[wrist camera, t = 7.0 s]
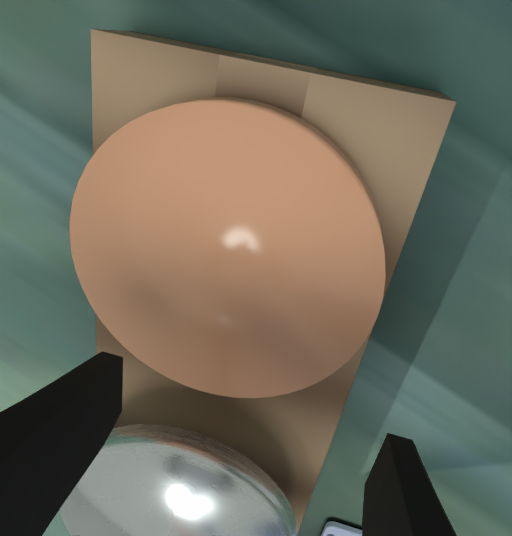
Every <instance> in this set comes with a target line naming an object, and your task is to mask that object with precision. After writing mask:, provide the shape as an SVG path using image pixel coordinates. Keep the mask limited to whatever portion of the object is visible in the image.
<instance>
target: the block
mask: <svg viewBox="0 0 512 536" xmlns="http://www.w3.org/2000/svg"><path fill="white" fill-rule="evenodd" d="M91 68H92V124H93V155H94V154H95V152H96V151H97V149H98V148H99V147H100V146H101V145H102V144H103V143H104V142H105V141H106V140H107V139H108V138H109V137H110V136H111V135H112V134H114V133H115V132H116V131H118V130H119V129H120V128H122V127H123V126H125V125H126V124H127V123H129V122H131V121H133V120H135V119H137V118H139V117H141V116H143V115H145V114H147V113H149V112H152V111H155V110H158V109H161V108H165V107H168V106H171V105H174V104H177V103H181V102H184V101H187V100H193V99H199V98H206V97H235V98H243V99H250V100H255V101H258V102H262V103H265V104H269V105H273V106H276V107H278V108H280V109H282V110H285V111H287V112H289V113H292V114H294V115H296V116H298V117H299V118H301V119H303V120H304V121H306V122H308V123H309V124H311V125H312V126H314V127H316V128H317V129H318V130H319V131H321V132H322V133H323V134H324V135H326V136H327V137H328V138H329V139H330V140H332V141H333V142H334V143H335V144H336V145H337V146H338V147H339V148H340V149H341V150H342V152H343V153H344V154H345V155H346V156H347V157H348V158H349V159H350V160H351V162H352V163H353V165H354V166H355V168H356V169H357V170H358V172H359V173H360V175H361V176H362V178H363V179H364V181H365V183H366V185H367V187H368V189H369V191H370V193H371V195H372V197H373V200H374V203H375V206H376V209H377V212H378V215H379V218H380V223H381V229H382V234H383V242H384V252H385V273H386V278H385V286H384V295H383V300H384V297H385V294H386V292H387V289H388V286H389V283H390V281H391V278H392V275H393V273H394V270H395V267H396V264H397V262H398V259H399V256H400V254H401V251H402V248H403V245H404V243H405V240H406V237H407V235H408V232H409V229H410V226H411V224H412V221H413V218H414V216H415V213H416V210H417V207H418V205H419V202H420V199H421V197H422V194H423V191H424V188H425V186H426V183H427V180H428V178H429V175H430V172H431V169H432V167H433V164H434V161H435V158H436V156H437V153H438V150H439V148H440V145H441V142H442V139H443V137H444V134H445V131H446V129H447V126H448V123H449V120H450V118H451V115H452V112H453V110H454V107H455V104H456V101H454V100H453V99H451V98H449V97H448V96H446V95H444V94H443V93H441V92H436V91H431V90H426V89H421V88H416V87H411V86H406V85H401V84H396V83H390V82H385V81H380V80H375V79H370V78H365V77H360V76H355V75H350V74H345V73H340V72H335V71H330V70H325V69H320V68H315V67H309V66H304V65H299V64H294V63H289V62H284V61H279V60H274V59H269V58H264V57H259V56H254V55H249V54H244V53H239V52H234V51H229V50H223V49H218V48H213V47H208V46H203V45H198V44H193V43H188V42H183V41H178V40H173V39H168V38H163V37H158V36H153V35H148V34H142V33H137V32H132V31H115V30H99V29H91ZM383 300H382V302H383ZM381 305H382V303H381ZM380 308H381V307H380ZM379 311H380V310H379ZM374 324H375V323H374ZM373 327H374V325H373ZM372 330H373V328H372ZM372 330H371V332H372ZM371 332H370V334H369V335H368V337H367V338H366V340H365V341H364V343H363V344H362V346H361V347H360V349H359V350H358V351H357V352H356V353H355V354H354V355H353V356H352V357H351V359H350V360H349V361H348V362H346V363H345V364H344V365H343V366H342V367H340V368H339V369H338V370H337V371H336V372H334V373H333V374H331V375H330V376H328V377H326V378H325V379H323V380H321V381H320V382H318V383H315V384H313V385H311V386H309V387H307V388H304V389H301V390H298V391H295V392H292V393H288V394H284V395H278V396H273V397H263V398H235V397H228V396H221V395H215V394H211V393H207V392H203V391H199V390H196V389H194V388H191V387H188V386H185V385H183V384H180V383H178V382H176V381H174V380H172V379H169V378H167V377H166V376H164V375H162V374H160V373H159V372H157V371H155V370H153V369H152V368H150V367H149V366H147V365H146V364H145V363H143V362H142V361H140V360H139V359H137V358H136V357H135V356H134V355H133V354H132V353H130V352H129V351H128V350H127V349H126V348H125V347H124V346H123V345H122V344H121V343H120V342H119V341H118V340H117V339H116V338H115V337H114V336H113V335H112V334H111V333H110V332H109V330H108V329H107V328H106V327H105V325H104V324H103V323H102V322H101V320H100V319H99V317H98V316H97V314H96V347H97V354H99V353H100V352H102V351H103V352H107V353H110V354H114V355H117V356H121V357H123V392H122V412H121V414H120V416H119V418H118V420H117V422H116V424H115V426H114V428H117V427H122V426H127V425H136V424H155V425H165V426H172V427H178V428H181V429H185V430H189V431H193V432H196V433H199V434H202V435H205V436H207V437H210V438H212V439H214V440H217V441H219V442H221V443H223V444H225V445H227V446H229V447H231V448H232V449H234V450H236V451H238V452H239V453H241V454H242V455H244V456H245V457H247V458H248V459H250V460H251V461H253V462H254V463H255V464H256V465H257V466H259V467H260V468H261V469H262V470H263V471H265V472H266V473H267V474H268V475H269V476H270V477H271V479H272V480H273V481H274V482H275V483H276V484H277V485H278V486H279V488H280V489H281V490H282V492H283V493H284V494H285V496H286V498H287V500H288V501H289V503H290V505H291V507H292V510H293V513H294V515H295V519H296V525H297V533H298V531H299V528H300V525H301V522H302V520H303V517H304V514H305V512H306V509H307V506H308V503H309V501H310V498H311V495H312V493H313V490H314V487H315V484H316V482H317V479H318V476H319V474H320V471H321V468H322V465H323V463H324V460H325V457H326V454H327V452H328V449H329V446H330V444H331V441H332V438H333V435H334V433H335V430H336V427H337V425H338V422H339V419H340V416H341V414H342V411H343V408H344V406H345V403H346V400H347V397H348V395H349V392H350V389H351V387H352V384H353V381H354V378H355V376H356V373H357V370H358V368H359V365H360V362H361V359H362V357H363V354H364V351H365V349H366V346H367V343H368V340H369V338H370V335H371ZM114 428H113V429H114Z"/></svg>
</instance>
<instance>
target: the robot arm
mask: <svg viewBox="0 0 512 536" xmlns="http://www.w3.org/2000/svg"><path fill="white" fill-rule="evenodd" d="M122 392H123V357H121V356H117V355H114V354H110V353H107V352H103V351H102V352H100V353H99V354H97V355H95V356H94V357H92V358H90V359H89V360H87V361H86V362H84V363H82V364H81V365H79V366H78V367H76V368H75V369H73V370H71V371H70V372H68V373H67V374H65V375H63V376H62V377H60V378H59V379H57V380H55V381H54V382H52V383H50V384H49V385H47V386H45V387H44V388H42V389H40V390H39V391H37V392H35V393H34V394H32V395H30V396H29V397H27V398H25V399H23V400H22V401H20V402H18V403H16V404H15V405H13V406H11V407H9V408H7V409H5V410H4V411H2V412H0V536H42V535H43V533H44V532H45V530H46V529H47V527H48V525H49V524H50V522H51V521H52V519H53V518H54V516H55V515H56V514H57V512H58V511H59V509H60V508H61V506H62V505H63V504H64V502H65V501H66V499H67V498H68V496H69V495H70V494H71V492H72V491H73V489H74V488H75V486H76V485H77V483H78V482H79V481H80V479H81V478H82V476H83V475H84V473H85V472H86V471H87V469H88V468H89V466H90V465H91V463H92V462H93V460H94V459H95V457H96V456H97V455H98V453H99V452H100V450H101V449H102V447H103V446H104V444H105V442H106V440H107V439H108V437H109V435H110V433H111V431H112V429H113V428H114V426H115V424H116V422H117V420H118V418H119V416H120V414H121V412H122ZM321 536H457V535H456V533H455V531H454V529H453V527H452V525H451V523H450V521H449V519H448V517H447V515H446V513H445V511H444V509H443V507H442V505H441V503H440V501H439V499H438V496H437V494H436V492H435V490H434V488H433V485H432V483H431V481H430V479H429V477H428V474H427V472H426V470H425V467H424V465H423V463H422V460H421V458H420V456H419V453H418V451H417V449H416V446H415V444H414V442H413V441H412V440H410V439H407V438H403V437H400V436H396V435H393V434H389V433H387V436H386V438H385V440H384V442H383V445H382V447H381V449H380V451H379V454H378V456H377V458H376V460H375V463H374V465H373V467H372V470H371V472H370V474H369V476H368V479H367V481H366V483H365V491H364V503H363V519H362V530H360V529H356V528H353V527H350V526H347V525H344V524H341V523H337V522H334V521H329V522H327V523H326V524H325V527H324V529H323V532H322V534H321Z"/></svg>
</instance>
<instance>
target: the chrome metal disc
mask: <svg viewBox="0 0 512 536" xmlns="http://www.w3.org/2000/svg"><path fill="white" fill-rule="evenodd" d="M60 514H61V516H62V519H63V522H64V524H65V526H66V528H67V530H68V532H69V533H70V535H71V536H297V525H296V519H295V515H294V513H293V510H292V507H291V505H290V503H289V501H288V500H287V498H286V496H285V494H284V493H283V492H282V490H281V489H280V488H279V486H278V485H277V484H276V483H275V482H274V481H273V480H272V479H271V477H270V476H269V475H268V474H267V473H266V472H265V471H263V470H262V469H261V468H260V467H259V466H257V465H256V464H255V463H254V462H253V461H251V460H250V459H248V458H247V457H245V456H244V455H242V454H241V453H239V452H238V451H236V450H234V449H232V448H231V447H229V446H227V445H225V444H223V443H221V442H219V441H217V440H214V439H212V438H210V437H207V436H205V435H202V434H199V433H196V432H193V431H189V430H185V429H181V428H178V427H172V426H165V425H155V424H136V425H127V426H122V427H117V428H114V429H112V431H111V433H110V435H109V437H108V439H107V440H106V442H105V444H104V446H103V447H102V449H101V450H100V452H99V453H98V455H97V456H96V457H95V459H94V460H93V462H92V463H91V465H90V466H89V468H88V469H87V471H86V472H85V473H84V475H83V476H82V478H81V479H80V481H79V482H78V483H77V485H76V486H75V488H74V489H73V491H72V492H71V494H70V495H69V496H68V498H67V499H66V501H65V502H64V504H63V505H62V506H61V508H60Z"/></svg>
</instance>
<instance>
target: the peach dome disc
mask: <svg viewBox="0 0 512 536" xmlns="http://www.w3.org/2000/svg"><path fill="white" fill-rule="evenodd" d="M70 243H71V252H72V257H73V261H74V265H75V269H76V273H77V276H78V278H79V281H80V284H81V286H82V289H83V291H84V293H85V295H86V297H87V299H88V301H89V303H90V305H91V306H92V308H93V309H94V311H95V313H96V314H97V316H98V317H99V319H100V320H101V322H102V323H103V324H104V325H105V327H106V328H107V329H108V330H109V332H110V333H111V334H112V335H113V336H114V337H115V338H116V339H117V340H118V341H119V342H120V343H121V344H122V345H123V346H124V347H125V348H126V349H127V350H128V351H129V352H130V353H132V354H133V355H134V356H135V357H136V358H137V359H139V360H140V361H142V362H143V363H145V364H146V365H147V366H149V367H150V368H152V369H153V370H155V371H157V372H159V373H160V374H162V375H164V376H166V377H167V378H169V379H172V380H174V381H176V382H178V383H180V384H183V385H185V386H188V387H191V388H194V389H196V390H199V391H203V392H207V393H211V394H215V395H221V396H228V397H235V398H263V397H273V396H278V395H284V394H288V393H292V392H295V391H298V390H301V389H304V388H307V387H309V386H311V385H313V384H315V383H318V382H320V381H321V380H323V379H325V378H326V377H328V376H330V375H331V374H333V373H334V372H336V371H337V370H338V369H339V368H340V367H342V366H343V365H344V364H345V363H346V362H348V361H349V360H350V359H351V357H352V356H353V355H354V354H355V353H356V352H357V351H358V350H359V349H360V347H361V346H362V344H363V343H364V341H365V340H366V338H367V337H368V335H369V334H370V332H371V330H372V328H373V325H374V323H375V321H376V319H377V317H378V314H379V310H380V307H381V303H382V300H383V295H384V286H385V278H386V273H385V252H384V242H383V234H382V229H381V223H380V218H379V215H378V212H377V209H376V206H375V203H374V200H373V197H372V195H371V193H370V191H369V189H368V187H367V185H366V183H365V181H364V179H363V178H362V176H361V175H360V173H359V172H358V170H357V169H356V168H355V166H354V165H353V163H352V162H351V160H350V159H349V158H348V157H347V156H346V155H345V154H344V153H343V152H342V150H341V149H340V148H339V147H338V146H337V145H336V144H335V143H334V142H333V141H332V140H330V139H329V138H328V137H327V136H326V135H324V134H323V133H322V132H321V131H319V130H318V129H317V128H316V127H314V126H312V125H311V124H309V123H308V122H306V121H304V120H303V119H301V118H299V117H298V116H296V115H294V114H292V113H289V112H287V111H285V110H282V109H280V108H278V107H276V106H273V105H269V104H265V103H262V102H258V101H255V100H250V99H243V98H235V97H206V98H199V99H193V100H187V101H184V102H181V103H177V104H174V105H171V106H168V107H165V108H161V109H158V110H155V111H152V112H149V113H147V114H145V115H143V116H141V117H139V118H137V119H135V120H133V121H131V122H129V123H127V124H126V125H125V126H123V127H122V128H120V129H119V130H118V131H116V132H115V133H114V134H112V135H111V136H110V137H109V138H108V139H107V140H106V141H105V142H104V143H103V144H102V145H101V146H100V147H99V148H98V149H97V151H96V152H95V154H94V155H93V157H92V158H91V159H90V161H89V162H88V164H87V165H86V167H85V169H84V171H83V173H82V175H81V177H80V179H79V181H78V185H77V188H76V191H75V194H74V197H73V202H72V208H71V214H70Z"/></svg>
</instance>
